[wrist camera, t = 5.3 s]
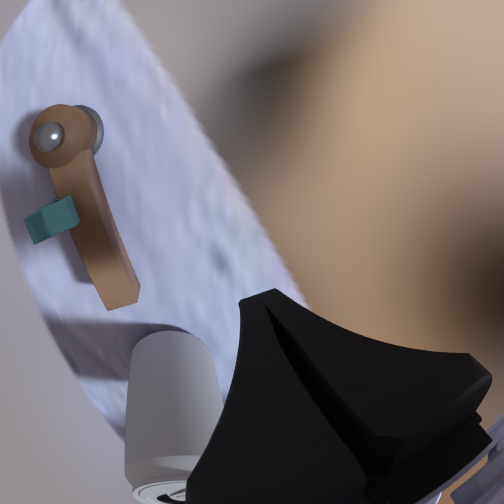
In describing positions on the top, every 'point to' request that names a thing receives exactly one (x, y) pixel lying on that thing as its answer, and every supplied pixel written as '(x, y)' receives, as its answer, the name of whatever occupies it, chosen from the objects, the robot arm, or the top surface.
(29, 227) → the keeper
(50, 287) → the top surface
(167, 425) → the beverage can
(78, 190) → the latch bar
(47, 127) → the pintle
